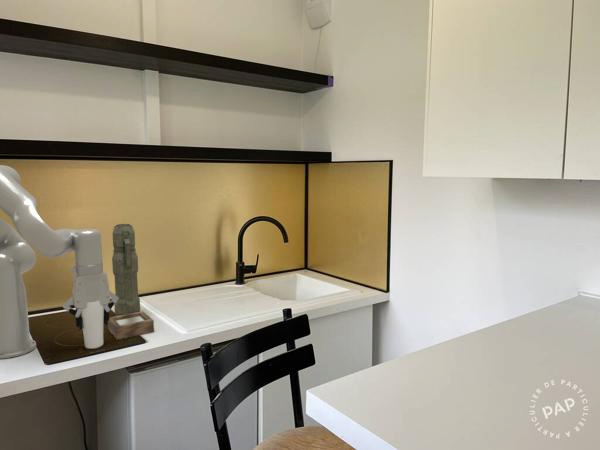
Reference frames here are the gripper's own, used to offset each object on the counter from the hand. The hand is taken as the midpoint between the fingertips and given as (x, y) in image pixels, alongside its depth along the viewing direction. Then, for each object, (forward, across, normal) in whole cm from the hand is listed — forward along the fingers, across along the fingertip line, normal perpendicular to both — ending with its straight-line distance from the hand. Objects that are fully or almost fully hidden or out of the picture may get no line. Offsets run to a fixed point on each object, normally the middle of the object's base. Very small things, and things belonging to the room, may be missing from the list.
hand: (93, 325), depth 138 cm
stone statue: (+7, +16, +22) cm, 28 cm away
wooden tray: (+7, +13, +7) cm, 16 cm away
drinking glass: (+7, 0, 0) cm, 7 cm away
